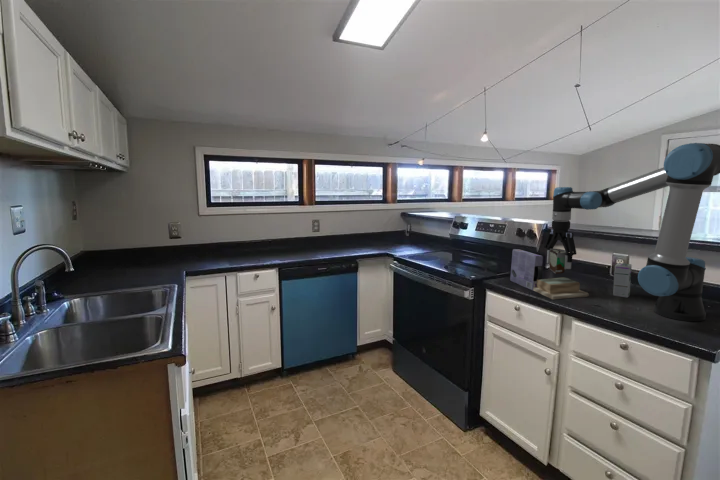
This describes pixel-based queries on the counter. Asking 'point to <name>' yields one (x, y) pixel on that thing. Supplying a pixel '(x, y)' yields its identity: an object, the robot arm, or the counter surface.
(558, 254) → the food container
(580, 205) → the robot arm
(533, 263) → the cake pan box
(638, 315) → the counter surface
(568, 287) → the base
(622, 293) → the syrup box
